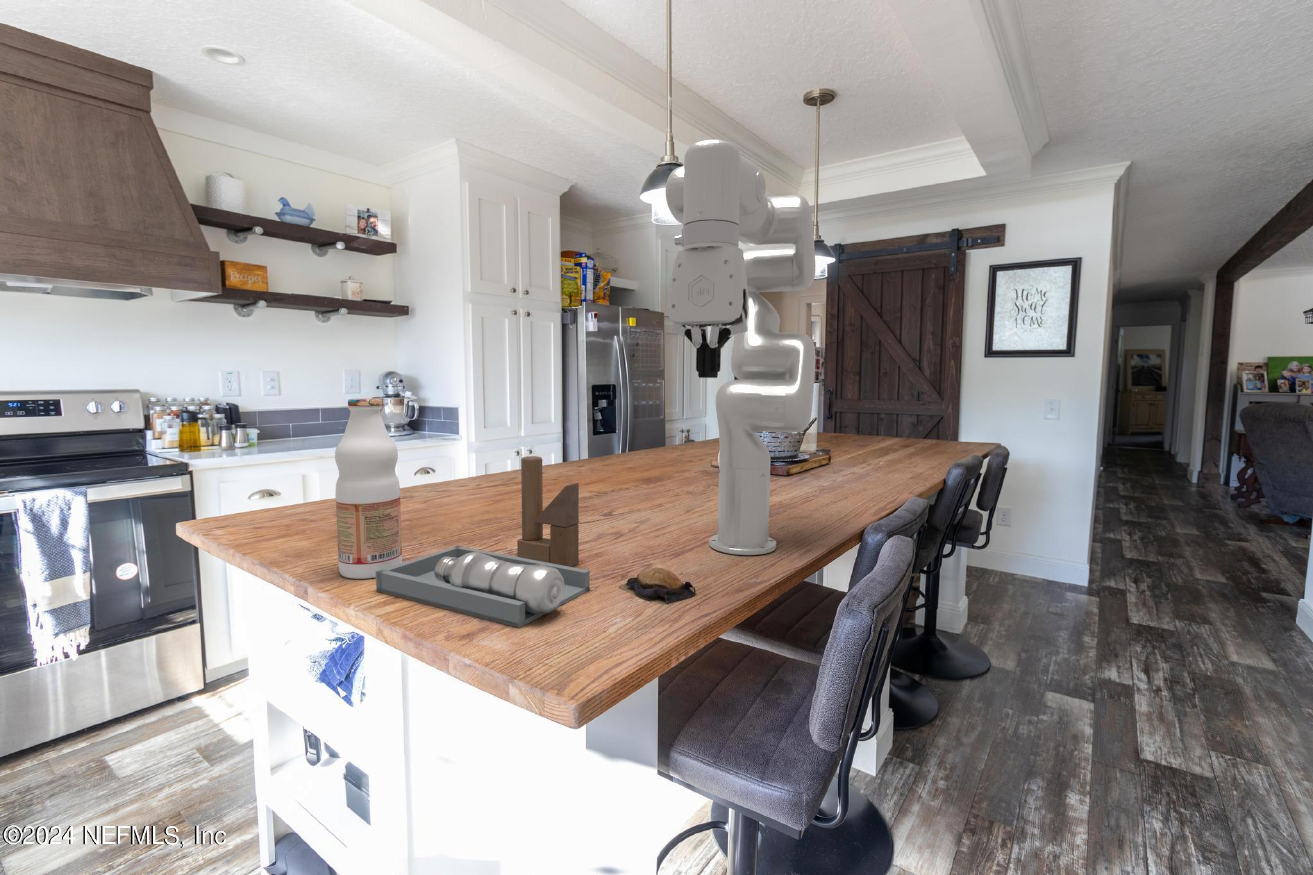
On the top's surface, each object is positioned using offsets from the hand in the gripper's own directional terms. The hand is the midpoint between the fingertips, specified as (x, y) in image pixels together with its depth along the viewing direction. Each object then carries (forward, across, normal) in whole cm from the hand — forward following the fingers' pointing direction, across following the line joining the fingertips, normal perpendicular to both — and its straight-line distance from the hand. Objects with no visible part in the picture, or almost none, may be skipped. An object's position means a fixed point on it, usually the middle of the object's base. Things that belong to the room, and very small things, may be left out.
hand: (708, 377), depth 85 cm
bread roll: (+33, -8, +1) cm, 34 cm away
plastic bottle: (+28, -14, -15) cm, 35 cm away
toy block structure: (+32, -31, +4) cm, 45 cm away
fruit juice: (+32, -53, -14) cm, 64 cm away
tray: (+32, -30, -12) cm, 46 cm away
